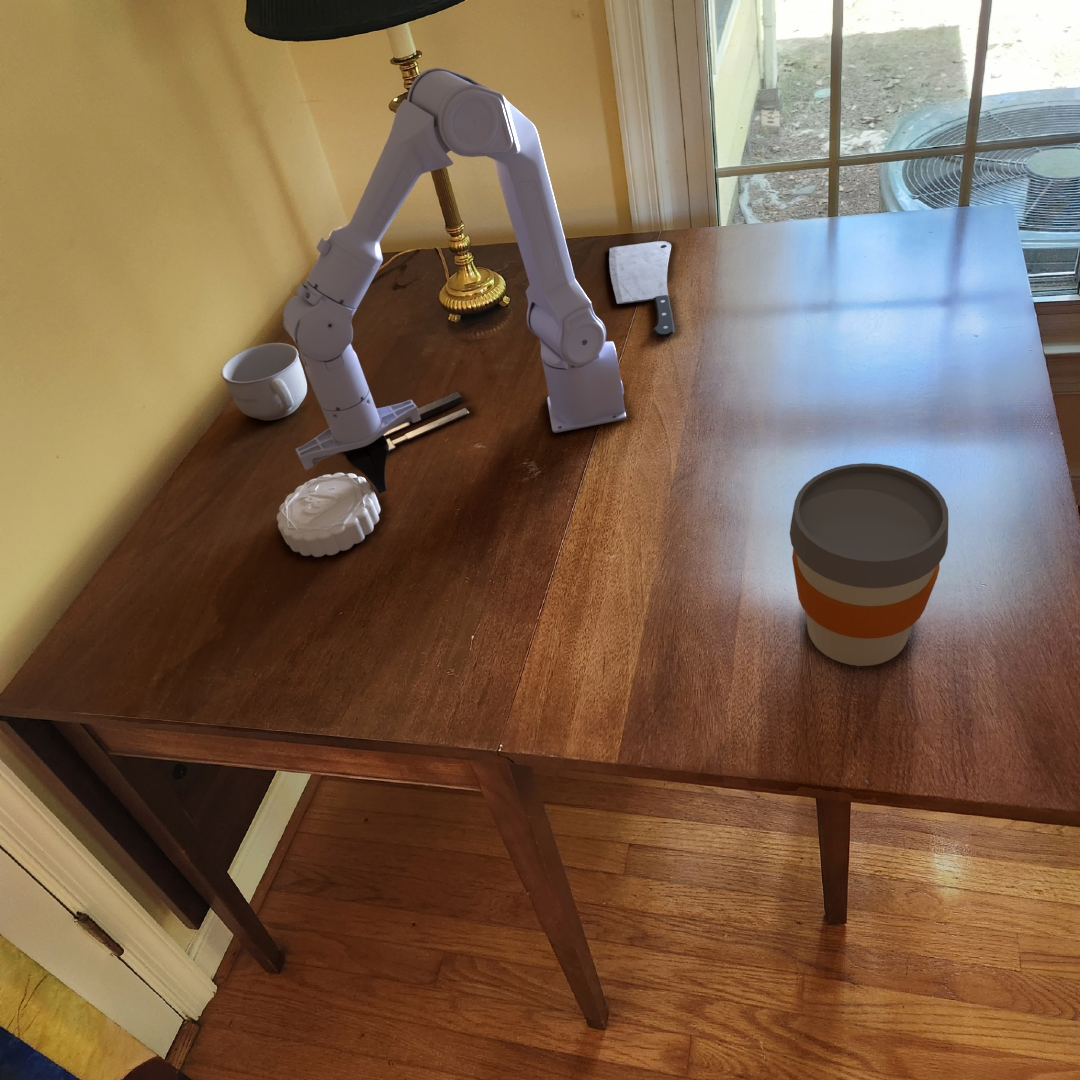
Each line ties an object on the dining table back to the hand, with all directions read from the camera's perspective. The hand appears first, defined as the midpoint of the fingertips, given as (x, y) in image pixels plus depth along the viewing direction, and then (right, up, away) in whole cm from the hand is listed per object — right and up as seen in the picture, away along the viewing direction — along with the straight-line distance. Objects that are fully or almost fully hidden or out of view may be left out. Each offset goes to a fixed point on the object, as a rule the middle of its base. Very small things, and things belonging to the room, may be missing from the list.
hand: (380, 488), depth 109 cm
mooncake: (-6, -4, 0) cm, 7 cm away
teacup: (-18, +12, +20) cm, 29 cm away
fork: (+3, +8, +10) cm, 13 cm away
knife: (+1, +9, +13) cm, 16 cm away
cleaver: (+35, +32, +28) cm, 55 cm away
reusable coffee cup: (+49, -15, -25) cm, 57 cm away
